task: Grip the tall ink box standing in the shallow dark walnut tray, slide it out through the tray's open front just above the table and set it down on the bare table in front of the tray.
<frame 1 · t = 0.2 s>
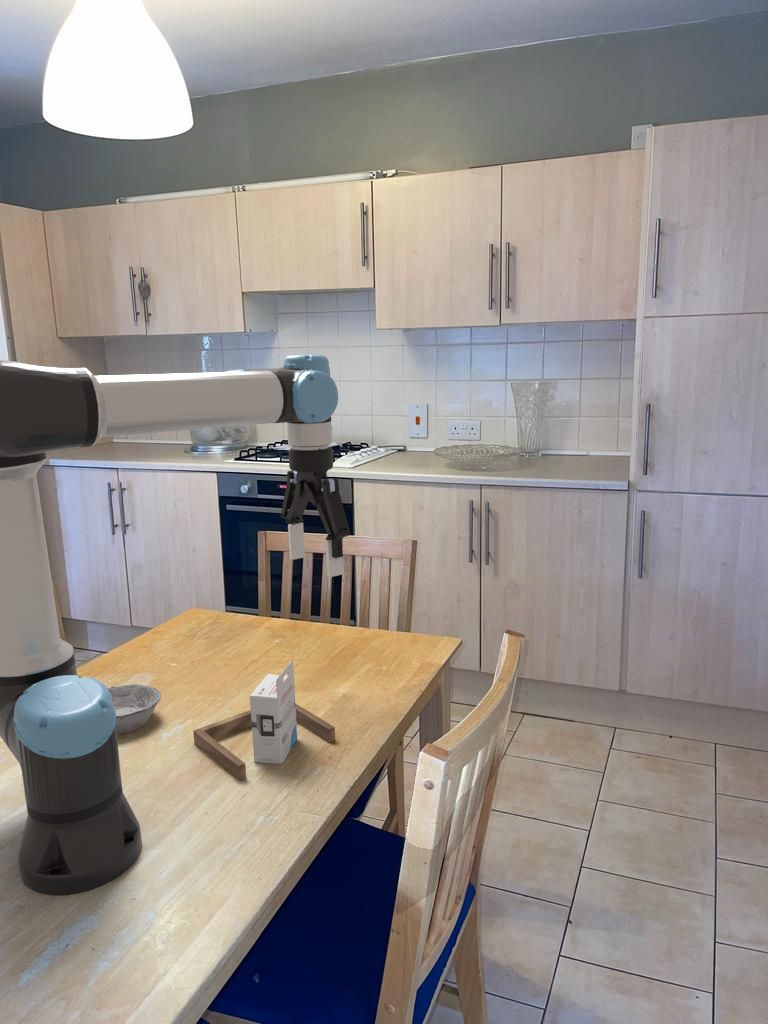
hand: (315, 566, 137), 27 cm above the table, fingers open, 13 cm apart
bowl: (124, 724, 140), on the table
wooden u-shaped frame: (266, 743, 131), on the table
ink box: (276, 751, 129), on the table
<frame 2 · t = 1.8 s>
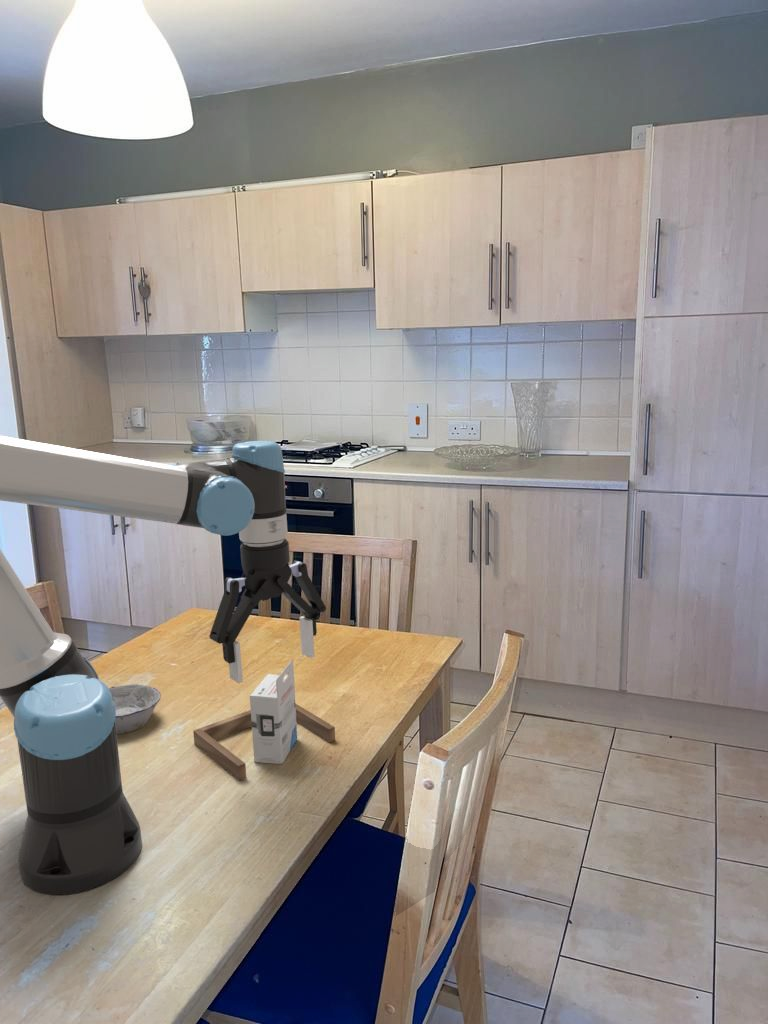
hand: (273, 667, 126), 15 cm above the table, fingers open, 13 cm apart
nothing on the table moved.
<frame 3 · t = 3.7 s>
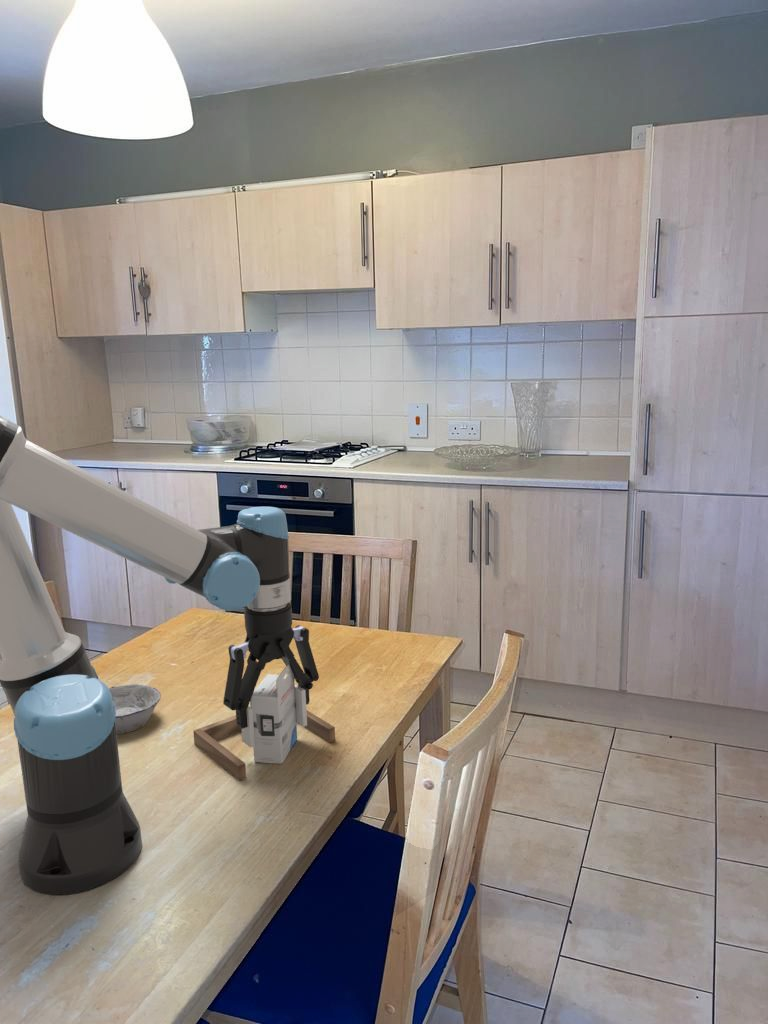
hand: (275, 733, 129), 3 cm above the table, fingers closed on ink box, 9 cm apart
ink box: (276, 751, 129), on the table, touching gripper
everything else where it was.
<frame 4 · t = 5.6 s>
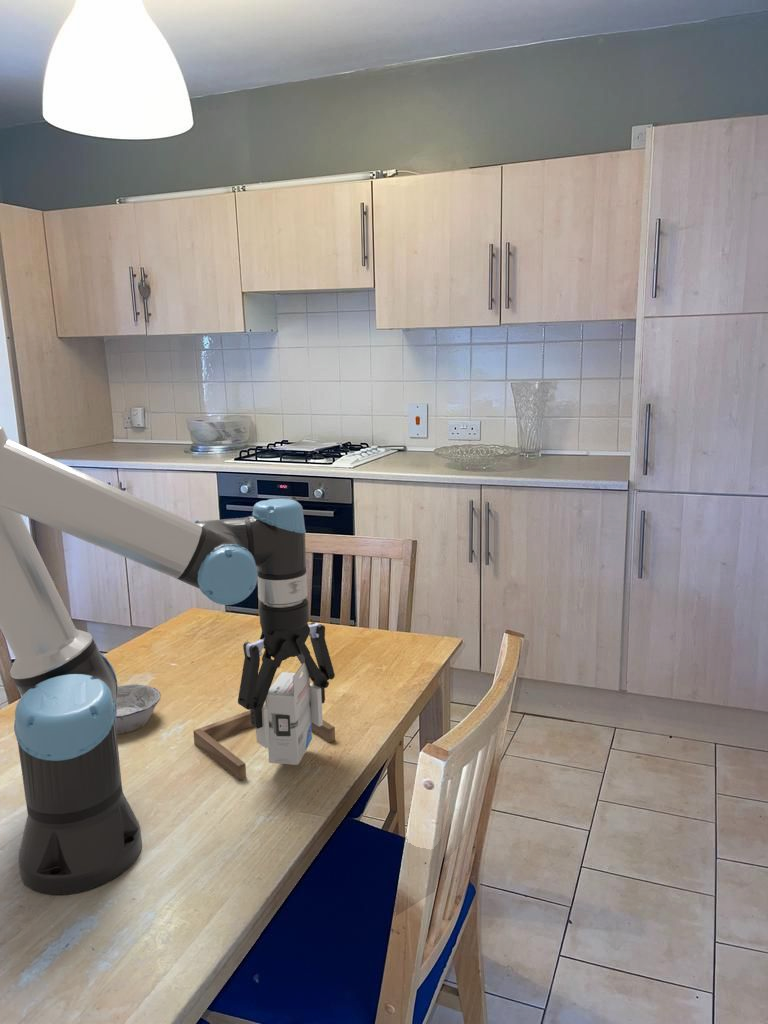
hand: (290, 733, 124), 5 cm above the table, fingers closed on ink box, 9 cm apart
ink box: (291, 752, 125), point 2 cm above the table, touching gripper
everything else where it was.
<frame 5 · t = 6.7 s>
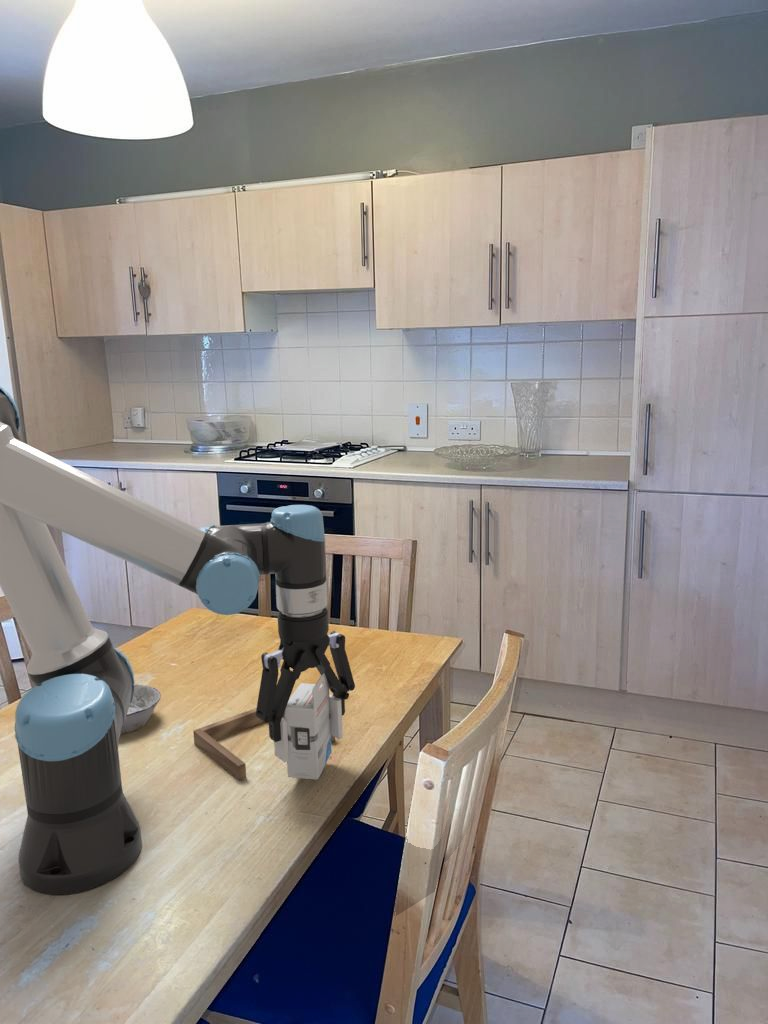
hand: (309, 746, 121), 5 cm above the table, fingers closed on ink box, 9 cm apart
ink box: (310, 765, 121), point 1 cm above the table, touching gripper
everything else where it was.
when the fingers open (4 cm above the table, at t = 7.4 s): ink box stays where it is, on the table.
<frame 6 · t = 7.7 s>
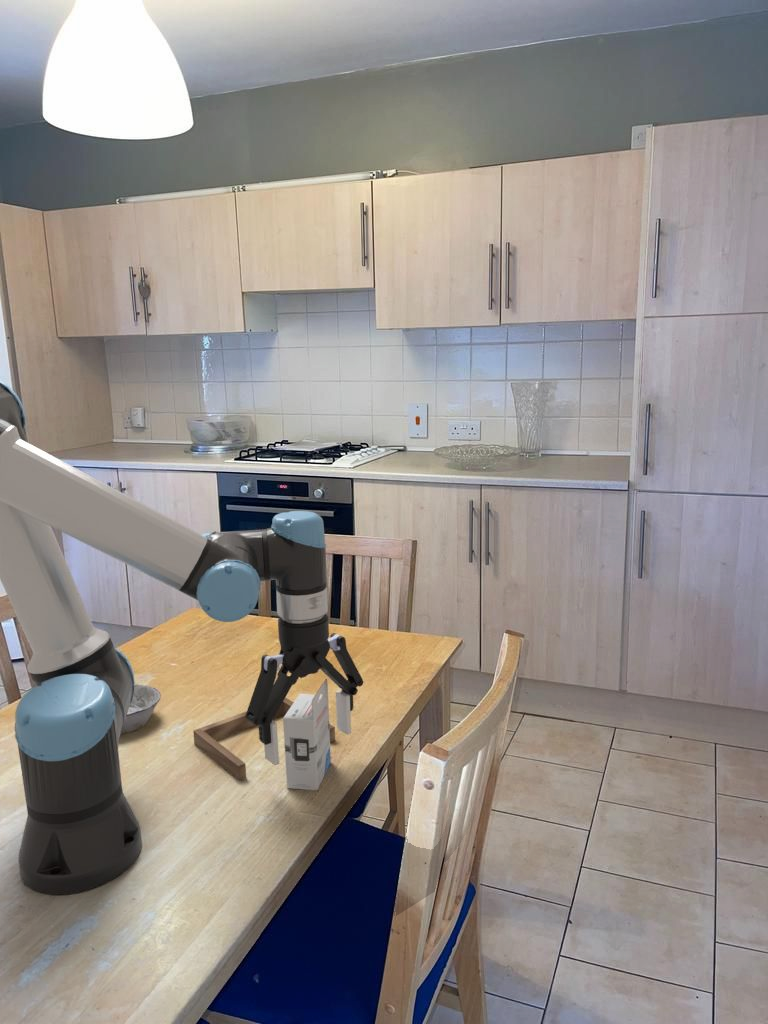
hand: (309, 745, 121), 5 cm above the table, fingers open, 13 cm apart
ink box: (309, 776, 122), on the table
everything else where it was.
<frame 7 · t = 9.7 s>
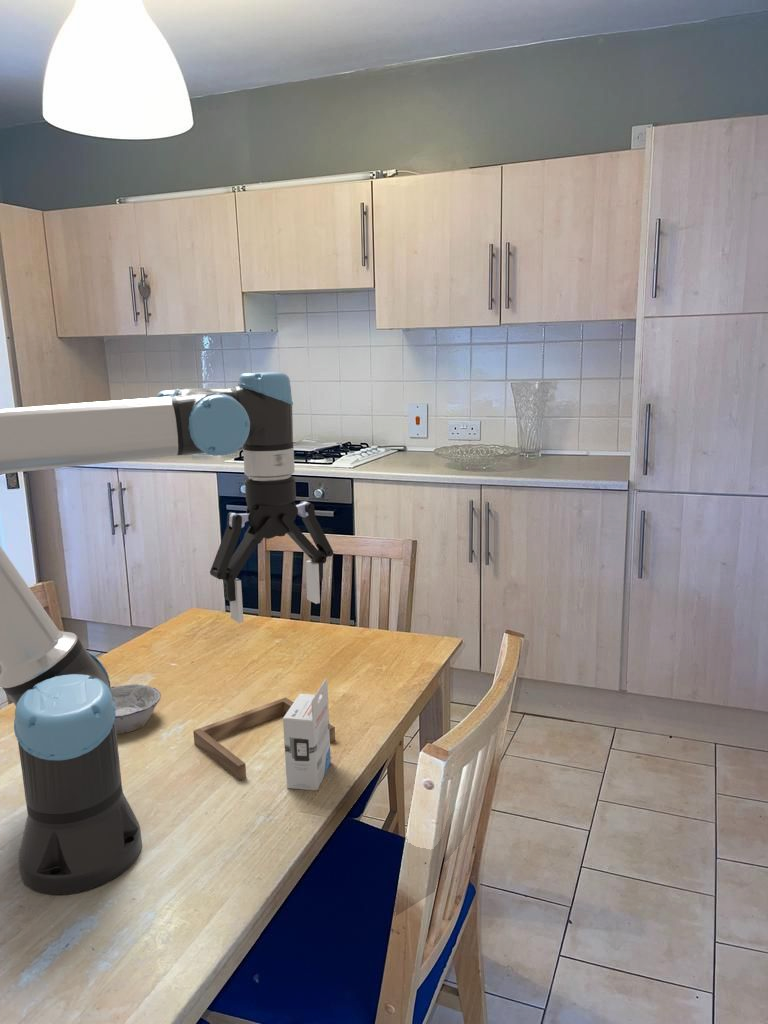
hand: (276, 610, 122), 25 cm above the table, fingers open, 13 cm apart
nothing on the table moved.
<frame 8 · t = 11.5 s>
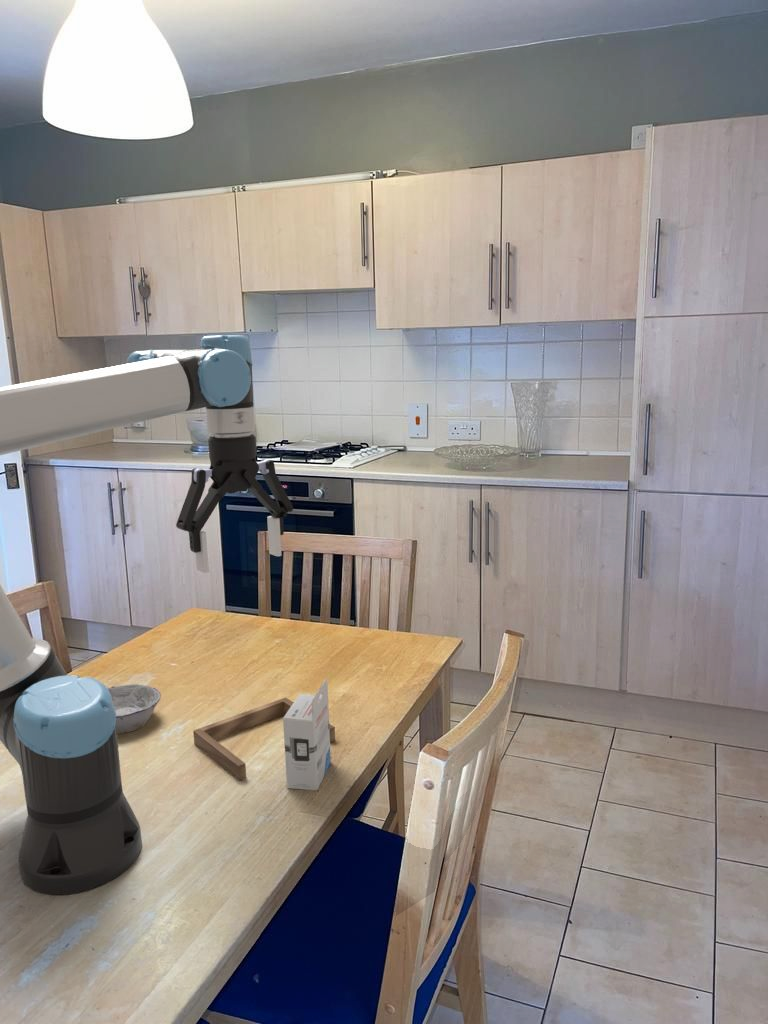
hand: (240, 562, 129), 31 cm above the table, fingers open, 13 cm apart
nothing on the table moved.
at the end: ink box inside the target area (1.0 cm from its centre), on the table; ink box tilted 0°; the gripper is holding nothing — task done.
